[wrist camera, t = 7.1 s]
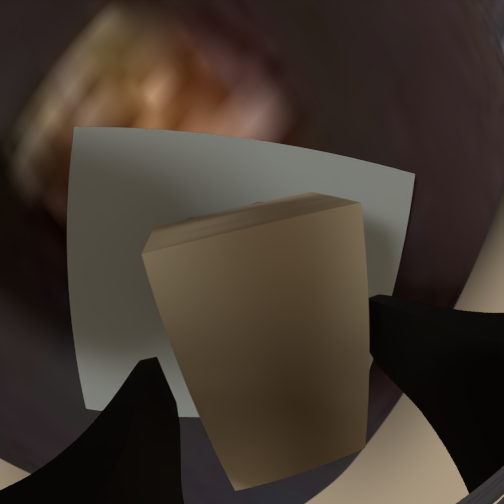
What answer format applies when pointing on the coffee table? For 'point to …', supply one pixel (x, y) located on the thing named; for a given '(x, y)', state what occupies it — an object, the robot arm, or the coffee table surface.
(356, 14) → the coffee table surface
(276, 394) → the beige cardboard carton
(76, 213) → the blue-grey board
